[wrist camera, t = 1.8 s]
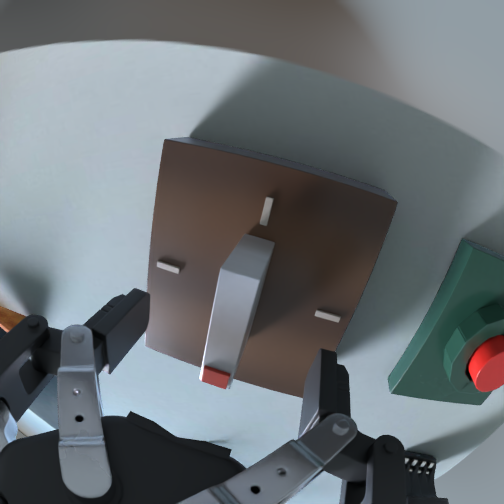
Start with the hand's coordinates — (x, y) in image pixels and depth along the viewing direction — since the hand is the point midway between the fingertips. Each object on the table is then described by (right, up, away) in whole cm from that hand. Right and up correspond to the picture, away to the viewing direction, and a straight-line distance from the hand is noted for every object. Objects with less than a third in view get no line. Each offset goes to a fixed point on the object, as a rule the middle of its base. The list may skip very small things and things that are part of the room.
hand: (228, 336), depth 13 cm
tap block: (+1, +3, +6) cm, 7 cm away
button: (+17, -3, +2) cm, 17 cm away
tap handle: (+1, +2, +3) cm, 4 cm away
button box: (+18, -2, +5) cm, 18 cm away
